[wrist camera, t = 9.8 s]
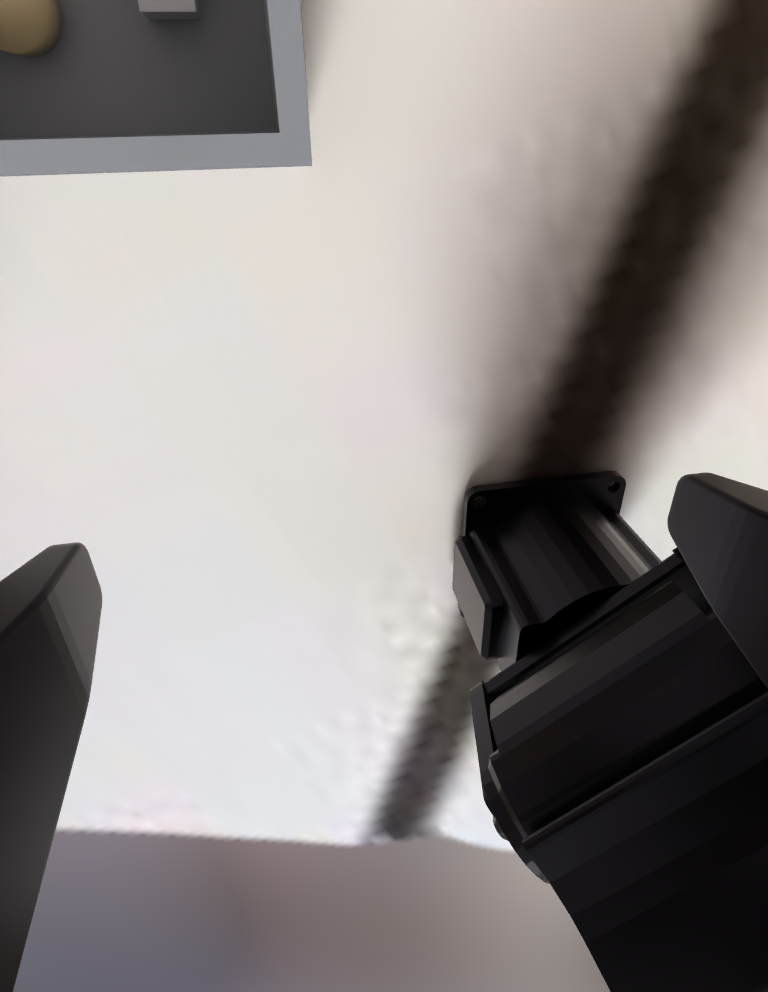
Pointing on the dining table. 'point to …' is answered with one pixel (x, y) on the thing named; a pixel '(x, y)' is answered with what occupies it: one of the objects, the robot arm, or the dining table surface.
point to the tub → (151, 86)
